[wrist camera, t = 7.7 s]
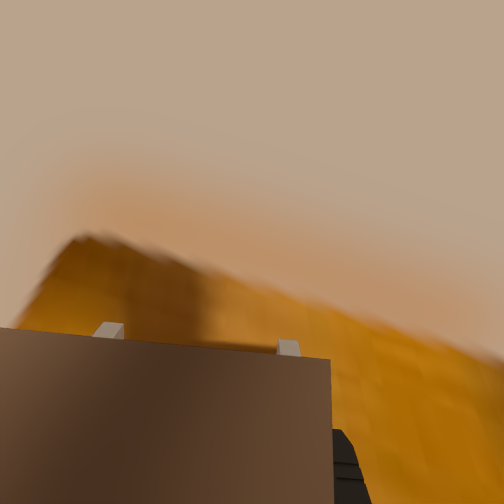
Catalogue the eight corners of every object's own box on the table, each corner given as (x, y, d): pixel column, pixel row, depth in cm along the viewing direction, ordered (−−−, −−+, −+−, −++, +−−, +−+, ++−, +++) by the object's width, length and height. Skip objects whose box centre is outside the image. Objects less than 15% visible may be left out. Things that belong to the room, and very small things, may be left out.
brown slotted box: (264, 389, 15) (333, 357, 5) (254, 551, 13) (358, 1106, 3) (141, 377, 15) (-30, 323, 5) (105, 538, 12) (-396, 1082, 2)
